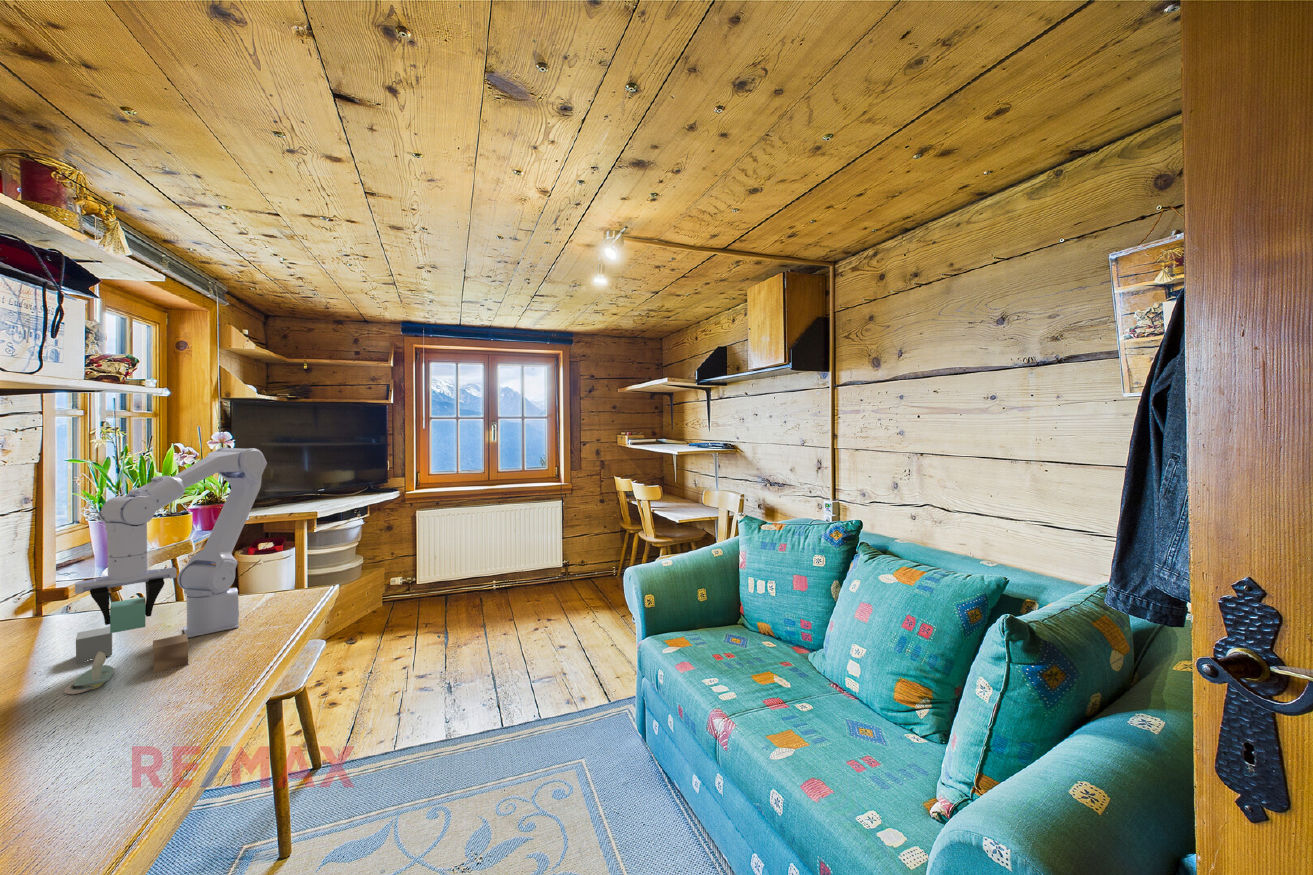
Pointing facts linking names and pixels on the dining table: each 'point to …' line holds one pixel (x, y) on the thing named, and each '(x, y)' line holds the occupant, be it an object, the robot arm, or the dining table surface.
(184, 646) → the walnut block
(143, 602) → the teal block
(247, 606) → the dining table surface
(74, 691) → the pacifier
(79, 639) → the slate block
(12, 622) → the dining table surface
